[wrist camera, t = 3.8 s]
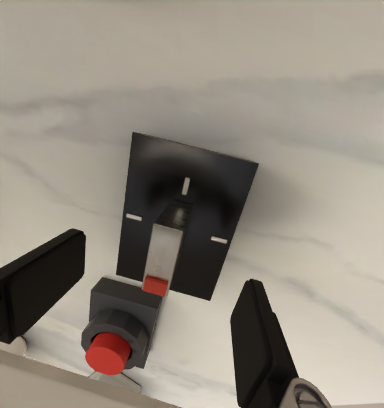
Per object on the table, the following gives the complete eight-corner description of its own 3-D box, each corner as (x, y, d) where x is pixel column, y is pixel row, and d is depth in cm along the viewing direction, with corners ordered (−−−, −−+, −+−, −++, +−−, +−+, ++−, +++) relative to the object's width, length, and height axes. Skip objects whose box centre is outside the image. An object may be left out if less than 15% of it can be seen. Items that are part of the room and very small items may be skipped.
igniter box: (102, 277, 22) (79, 303, 19) (162, 294, 22) (152, 324, 18) (97, 335, 26) (77, 368, 22) (149, 351, 26) (138, 386, 22)
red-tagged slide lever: (172, 199, 15) (151, 225, 10) (192, 204, 15) (182, 233, 10) (161, 249, 16) (139, 292, 12) (180, 253, 16) (166, 299, 11)
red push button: (96, 326, 20) (85, 342, 18) (133, 337, 20) (126, 354, 18) (94, 351, 21) (84, 368, 20) (129, 361, 21) (121, 380, 20)
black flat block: (146, 134, 16) (131, 131, 13) (251, 160, 16) (259, 163, 13) (129, 257, 21) (115, 275, 18) (210, 280, 21) (210, 302, 18)
